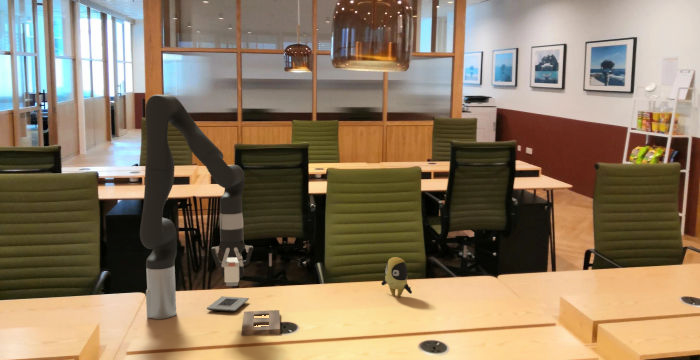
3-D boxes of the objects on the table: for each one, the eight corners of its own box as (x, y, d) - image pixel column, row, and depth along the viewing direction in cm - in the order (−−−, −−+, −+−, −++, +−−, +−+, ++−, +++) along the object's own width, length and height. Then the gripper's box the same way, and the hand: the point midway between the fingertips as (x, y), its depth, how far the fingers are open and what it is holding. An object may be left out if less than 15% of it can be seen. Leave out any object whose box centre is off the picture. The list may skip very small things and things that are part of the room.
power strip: (224, 286, 192) (224, 265, 192) (227, 276, 204) (227, 256, 203) (238, 286, 193) (238, 265, 192) (240, 275, 205) (240, 255, 204)
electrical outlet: (235, 315, 208) (235, 308, 207) (206, 313, 210) (206, 307, 209) (248, 303, 220) (248, 297, 220) (222, 301, 222) (221, 295, 222)
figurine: (404, 303, 218) (404, 263, 216) (373, 293, 230) (373, 255, 228) (419, 298, 224) (419, 259, 222) (388, 289, 235) (389, 251, 234)
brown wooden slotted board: (241, 335, 188) (241, 330, 188) (244, 315, 206) (244, 311, 206) (280, 333, 190) (280, 328, 190) (279, 314, 207) (279, 310, 207)
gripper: (208, 229, 192) (209, 281, 194) (253, 227, 194) (254, 279, 196) (210, 224, 199) (212, 275, 201) (254, 223, 201) (255, 273, 203)
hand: (233, 277), depth 198 cm, fingers closed on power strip, 4 cm apart
